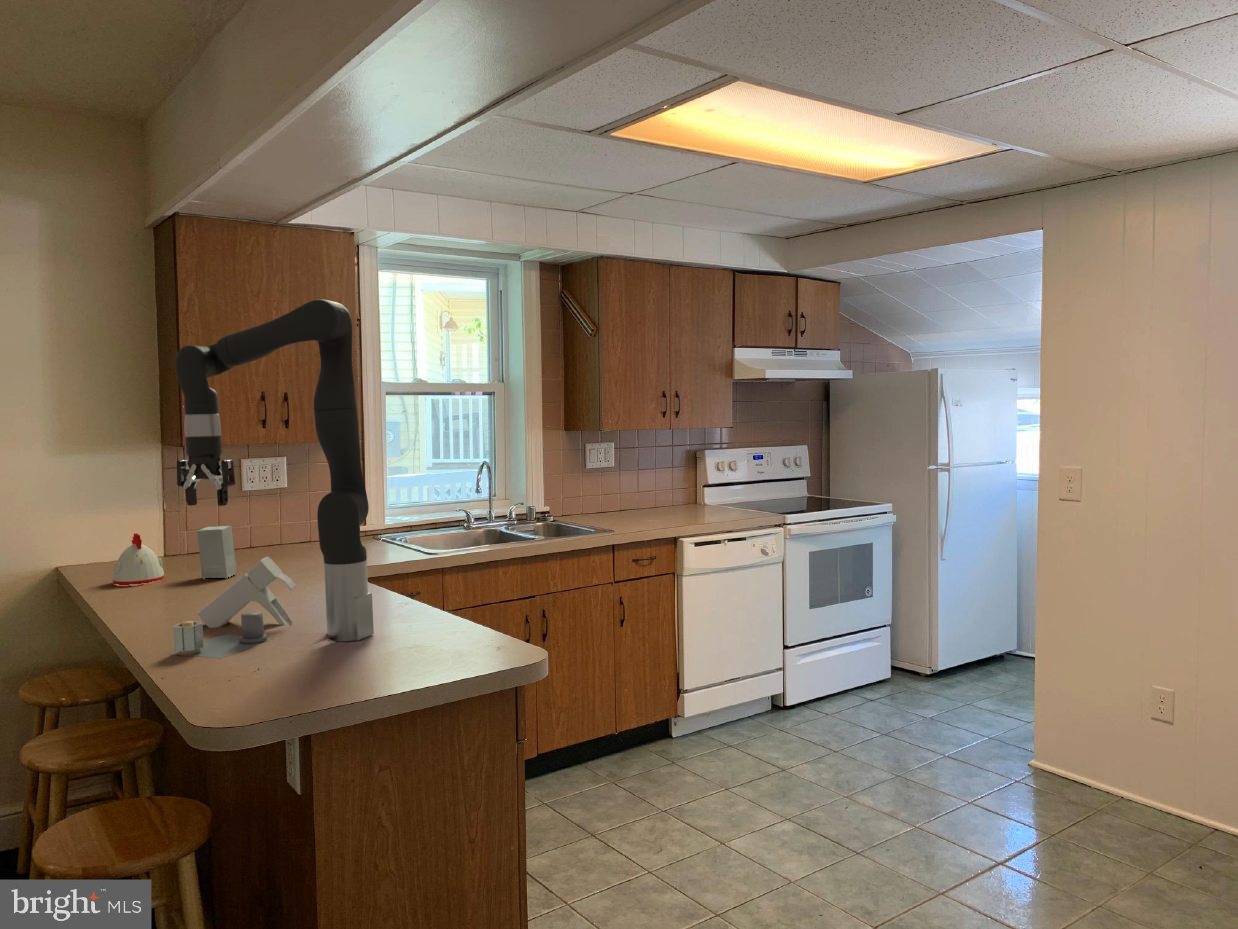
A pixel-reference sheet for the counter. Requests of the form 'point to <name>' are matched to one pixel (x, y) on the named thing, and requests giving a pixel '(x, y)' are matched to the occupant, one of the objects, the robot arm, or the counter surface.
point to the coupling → (188, 637)
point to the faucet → (248, 596)
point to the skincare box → (217, 552)
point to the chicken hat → (137, 565)
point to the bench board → (231, 639)
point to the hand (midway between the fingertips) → (207, 505)
